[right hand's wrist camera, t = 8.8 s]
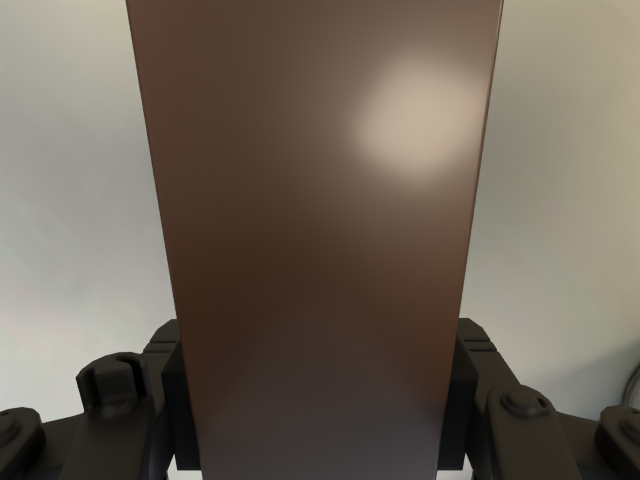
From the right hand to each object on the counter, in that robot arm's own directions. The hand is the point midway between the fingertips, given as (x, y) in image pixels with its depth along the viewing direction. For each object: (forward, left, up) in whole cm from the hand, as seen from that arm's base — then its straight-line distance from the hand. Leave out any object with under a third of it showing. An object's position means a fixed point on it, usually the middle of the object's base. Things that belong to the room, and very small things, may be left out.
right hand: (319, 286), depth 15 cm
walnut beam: (0, -12, 0) cm, 12 cm away
